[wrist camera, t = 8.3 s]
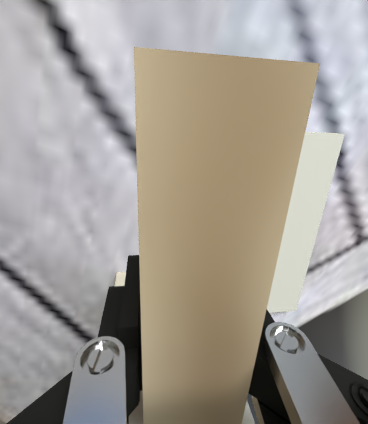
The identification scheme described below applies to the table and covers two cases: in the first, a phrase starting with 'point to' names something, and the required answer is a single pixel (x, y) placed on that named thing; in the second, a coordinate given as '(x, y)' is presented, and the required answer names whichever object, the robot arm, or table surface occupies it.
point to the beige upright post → (210, 222)
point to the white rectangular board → (303, 217)
